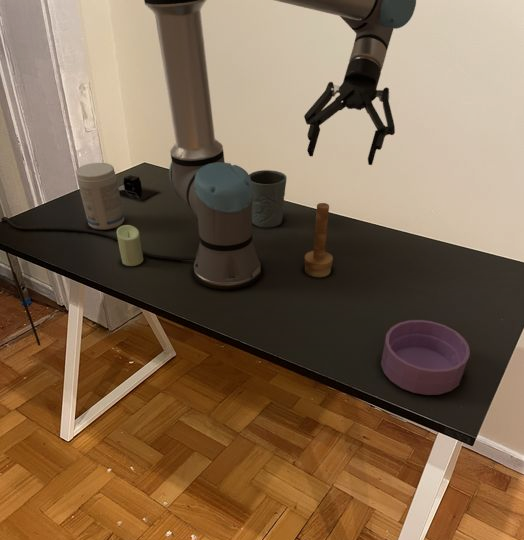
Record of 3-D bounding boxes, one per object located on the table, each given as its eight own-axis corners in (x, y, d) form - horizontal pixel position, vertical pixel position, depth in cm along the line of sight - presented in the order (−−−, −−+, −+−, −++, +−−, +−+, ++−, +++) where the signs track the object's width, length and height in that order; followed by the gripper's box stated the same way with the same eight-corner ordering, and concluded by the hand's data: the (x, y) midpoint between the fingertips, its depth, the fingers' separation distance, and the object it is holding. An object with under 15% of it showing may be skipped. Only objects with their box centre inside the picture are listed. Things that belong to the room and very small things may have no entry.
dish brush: (298, 272, 120) (302, 207, 110) (312, 260, 124) (316, 196, 114) (323, 280, 118) (329, 214, 107) (336, 268, 122) (343, 203, 112)
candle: (147, 262, 123) (142, 230, 118) (127, 268, 121) (121, 236, 116) (138, 253, 127) (132, 222, 121) (118, 259, 124) (112, 228, 119)
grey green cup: (252, 230, 136) (252, 185, 129) (244, 214, 144) (243, 171, 136) (289, 226, 138) (291, 182, 131) (279, 210, 146) (280, 168, 138)
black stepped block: (110, 192, 155) (107, 177, 152) (126, 184, 160) (124, 169, 157) (142, 201, 150) (139, 185, 147) (158, 192, 155) (156, 177, 152)
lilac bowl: (368, 377, 93) (372, 351, 89) (397, 336, 102) (402, 311, 98) (446, 408, 87) (455, 382, 83) (470, 362, 96) (479, 336, 92)
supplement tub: (124, 214, 144) (115, 160, 134) (125, 229, 137) (115, 174, 127) (88, 217, 142) (76, 163, 133) (87, 233, 135) (74, 177, 126)
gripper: (421, 83, 115) (396, 173, 114) (314, 73, 122) (289, 158, 121) (422, 61, 108) (395, 157, 107) (308, 51, 115) (282, 141, 114)
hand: (339, 157), depth 114 cm, fingers open, 13 cm apart
